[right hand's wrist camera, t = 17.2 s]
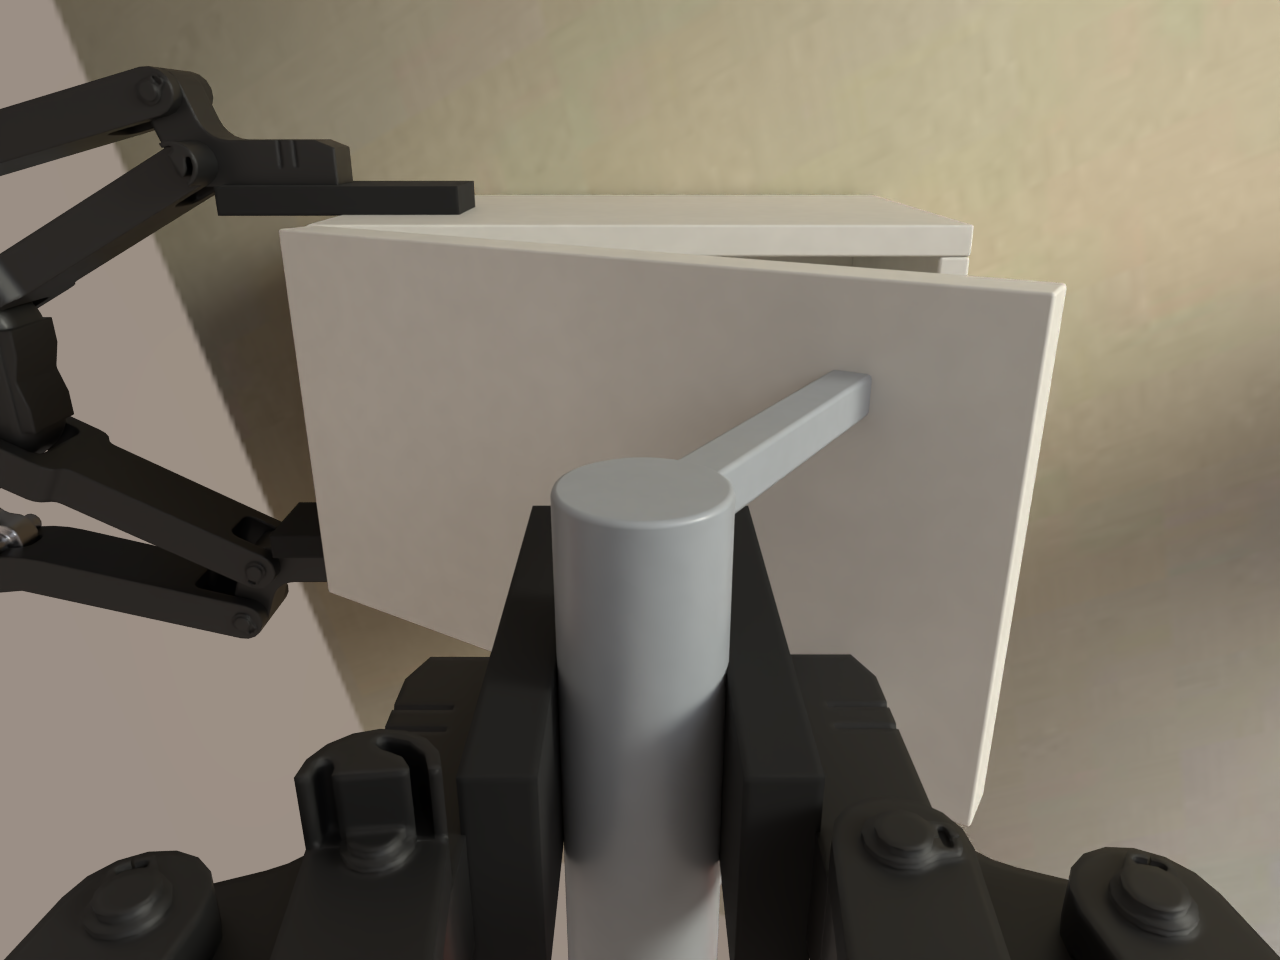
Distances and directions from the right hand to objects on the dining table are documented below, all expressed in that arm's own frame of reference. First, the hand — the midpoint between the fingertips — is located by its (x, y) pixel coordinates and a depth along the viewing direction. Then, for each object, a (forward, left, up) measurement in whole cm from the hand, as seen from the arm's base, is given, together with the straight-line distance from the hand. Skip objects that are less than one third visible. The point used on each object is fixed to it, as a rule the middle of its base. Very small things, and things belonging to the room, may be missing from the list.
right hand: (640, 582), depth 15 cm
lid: (0, -1, -5) cm, 5 cm away
